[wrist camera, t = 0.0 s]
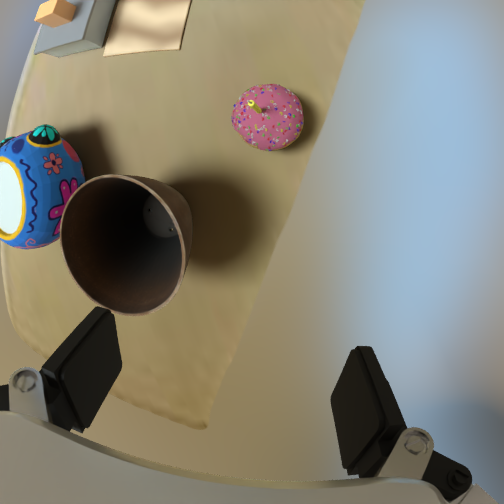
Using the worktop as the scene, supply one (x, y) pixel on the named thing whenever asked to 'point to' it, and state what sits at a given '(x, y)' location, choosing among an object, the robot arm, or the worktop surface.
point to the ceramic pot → (36, 186)
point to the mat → (147, 26)
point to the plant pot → (127, 242)
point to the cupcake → (268, 117)
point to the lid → (62, 23)
